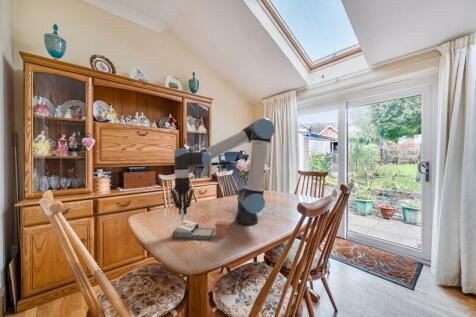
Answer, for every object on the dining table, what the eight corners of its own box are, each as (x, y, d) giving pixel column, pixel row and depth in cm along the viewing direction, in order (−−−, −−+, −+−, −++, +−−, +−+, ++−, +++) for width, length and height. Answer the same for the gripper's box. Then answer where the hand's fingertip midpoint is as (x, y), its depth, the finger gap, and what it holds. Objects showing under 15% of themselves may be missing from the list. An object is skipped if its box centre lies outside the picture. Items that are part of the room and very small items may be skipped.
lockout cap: (226, 234, 110) (226, 221, 110) (224, 237, 105) (225, 224, 105) (217, 233, 110) (217, 220, 110) (215, 237, 105) (215, 224, 105)
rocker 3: (193, 228, 111) (193, 223, 111) (192, 230, 108) (191, 225, 108) (181, 228, 111) (181, 223, 111) (179, 230, 108) (179, 225, 108)
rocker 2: (195, 227, 115) (196, 223, 115) (193, 229, 112) (194, 224, 112) (183, 224, 115) (184, 219, 115) (181, 225, 112) (182, 221, 112)
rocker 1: (190, 232, 107) (191, 228, 107) (189, 235, 104) (190, 230, 104) (178, 229, 107) (179, 224, 107) (176, 231, 104) (177, 226, 104)
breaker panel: (215, 230, 115) (215, 224, 115) (210, 240, 102) (210, 234, 102) (181, 229, 116) (181, 223, 116) (172, 238, 103) (172, 232, 103)
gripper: (195, 176, 112) (196, 217, 113) (173, 176, 113) (174, 217, 114) (191, 177, 105) (192, 222, 105) (167, 178, 106) (168, 222, 106)
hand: (183, 220), depth 110 cm, fingers closed
